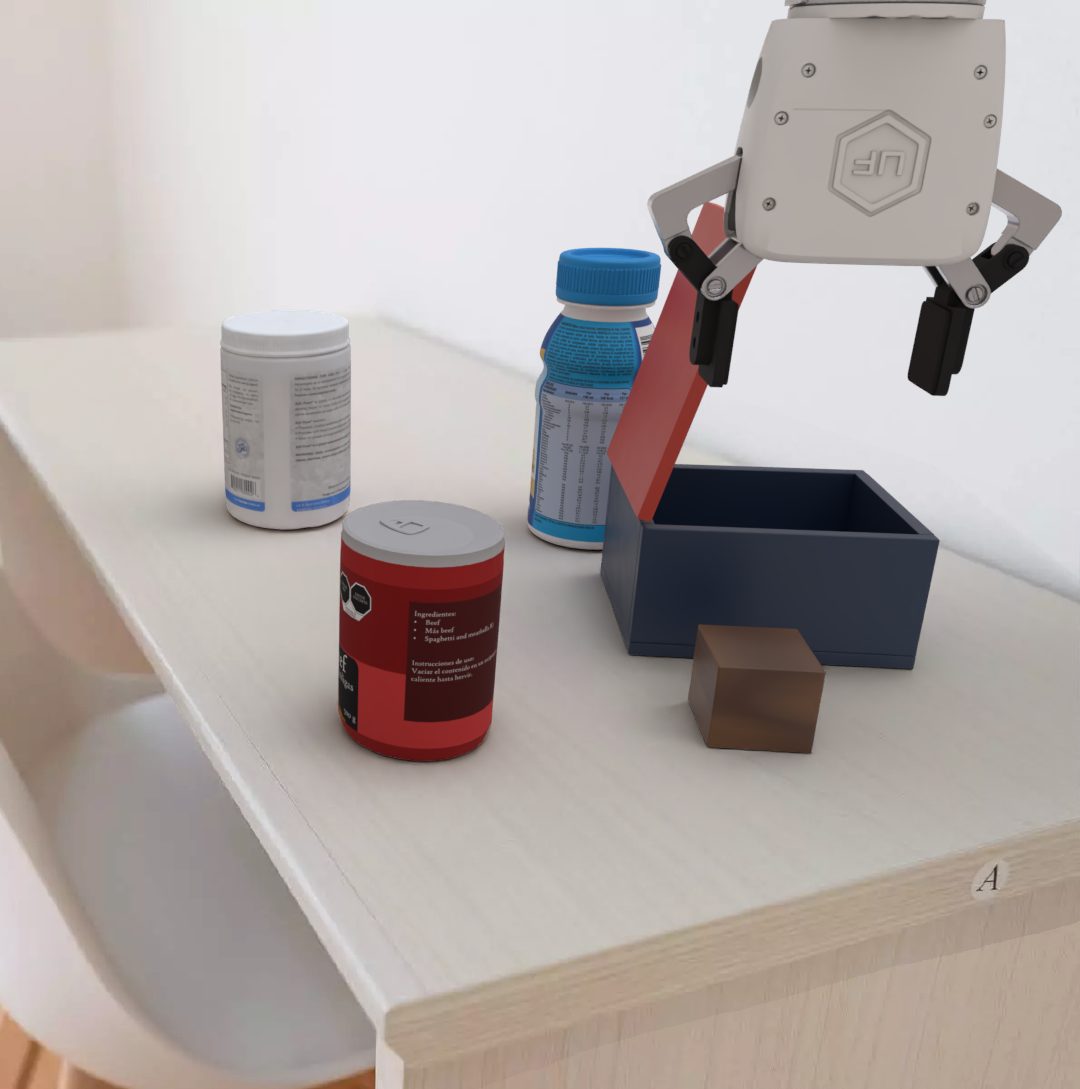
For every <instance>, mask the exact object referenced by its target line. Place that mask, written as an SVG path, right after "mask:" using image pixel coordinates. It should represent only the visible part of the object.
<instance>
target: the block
mask: <svg viewBox="0 0 1080 1089" xmlns="http://www.w3.org/2000/svg"><path fill="white" fill-rule="evenodd" d="M826 674H827V672H826V670H825V669H824V667H823V665H821V664H820V663H819V661H818V660H817V658H816V657H815V655H814V654H813V652H812V651H811V649H810V648H809V646H808V645H807V643H806V642H805V640H804V639H803V637H802V636H801V634H800V633H799V631H798V630H797V629H786V628H765V627H744V626H723V625H702V624H699V625H698V629H697V636H696V643H695V651H694V658H692V666H691V673H690V682H689V688H688V696H687V701H688V704H689V706H690V708H691V711H692V713H693V715H694V718H695V720H696V723H697V725H698V727H699V730H700V733H701V735H702V737H703V739H704V742H705V744H706V747H708V748H713V749H715V748H718V749H734V750H751V751H771V752H785V753H786V752H787V753H803V754H811V753H812V751H813V746H814V741H815V735H816V730H817V724H818V720H819V715H820V714H819V713H820V707H821V702H822V698H823V691H824V685H825V680H826Z"/></svg>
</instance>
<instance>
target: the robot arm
mask: <svg viewBox="0 0 1080 1089" xmlns="http://www.w3.org/2000/svg"><path fill="white" fill-rule="evenodd" d="M986 4H987V0H784V7H789V8H788V9H787V15H786V18H779V19H774V20H771V21H770V25H769V27H768V30H767V33H766V35H765V37H764V41H763V44H762V46H761V50H760V52H759V56H758V59H757V62H756V65H755V69H754V72H753V76H752V79H751V82H750V85H749V86H750V87H749V90H748V94H747V98H746V102H745V105H744V110H743V113H742V118H741V122H740V125H739V131H738V134H737V139H736V142H735V143H736V144H735V148H734V152H733V155H732V156H730V157H727V158H725V159H724V160H722V161H719V162H717V163H715V164H713V165H711V166H709V167H707V168H705V169H702V170H700V171H699V172H696V173H694V174H692V175H690V176H688V177H686V178H683V179H681V180H679V181H677V182H675V183H673V184H671V185H668V186H667V187H664V188H662V189H660V190H659V191H656V192H654V193H652V194H651V195H650V196H649V197H648V199H647V203H646V207H647V210H648V212H649V213H648V214H649V215H650V218H651V220H652V223H653V226H654V228H655V230H656V233H657V236H658V238H659V240H660V242H661V245H662V247H663V252H664V255H665V256H666V257H667V258H668V259H669V260H670V262H671V263H672V264H673V265H674V266H675V267H676V269H677V270H678V269H679V271H680V272H681V273H682V274H683V275H684V276H685V278H686V279H687V280H688V281H689V282H690V283H691V285H692V286H693V288H695V289H696V290H697V299H696V306H695V313H694V321H693V328H692V335H691V343H690V351H689V359H690V362H691V364H692V365H699V367H698V373H699V375H700V377H701V378H702V379H703V380H704V381H705V382H706V383H707V384H708V385H707V386H709V388H723V387H724V386H726V385H728V382H729V378H730V369H731V362H732V357H733V350H734V344H735V343H734V342H735V337H736V330H737V323H738V316H739V311H738V309H739V310H740V308H739V306H738V303H736V302H735V301H734V300H732V293H733V288H734V287H735V286H736V285H737V284H738V283H739V282H740V281H741V280H742V279H743V278H744V277H745V276H746V275H747V274H749V273H750V272H751V271H752V270H753V269H754V268H755V267H756V266H757V267H758V266H759V265H760V263H761V262H762V261H763V260H768V261H773V262H777V263H778V262H779V263H791V264H793V263H794V264H818V265H854V266H887V267H888V266H889V267H891V266H894V267H897V266H898V267H922V269H923V270H924V272H925V274H926V275H927V277H928V278H929V279H930V281H931V282H932V284H933V286H934V294H933V296H926V298H925V300H923V301H922V303H921V306H920V311H919V315H918V321H917V325H916V331H915V335H914V340H913V345H912V350H911V355H910V360H909V365H908V370H907V381H908V382H910V383H911V384H913V385H914V386H916V387H918V389H921V390H923V391H924V392H926V393H927V394H929V395H930V396H934V397H946V396H947V395H948V393H949V389H950V385H951V381H952V376H953V375H958V374H959V373H960V372H961V370H962V369H963V365H964V360H965V356H966V351H967V347H968V341H969V338H970V333H971V328H972V323H973V318H974V314H975V310H976V309H979V308H981V307H984V305H986V304H987V303H988V302H989V300H990V298H991V295H992V294H993V293H994V292H995V291H997V290H998V289H999V288H1001V287H1002V286H1003V285H1004V284H1006V283H1007V282H1008V281H1010V280H1011V279H1012V278H1014V277H1015V276H1016V275H1018V274H1019V273H1020V272H1021V271H1023V270H1024V269H1025V268H1026V267H1027V265H1028V264H1029V262H1030V256H1031V255H1032V254H1033V252H1034V251H1036V250H1038V248H1039V247H1040V246H1041V245H1042V243H1043V242H1044V241H1045V239H1046V238H1047V237H1048V235H1049V234H1050V233H1051V232H1052V230H1053V229H1054V228H1055V226H1056V225H1057V224H1058V222H1059V221H1060V219H1061V217H1062V214H1063V210H1062V207H1061V205H1059V204H1058V203H1056V202H1055V201H1053V200H1052V199H1050V198H1048V197H1047V196H1045V195H1043V194H1041V193H1040V192H1038V191H1036V190H1034V189H1033V188H1031V187H1029V186H1028V185H1026V184H1024V183H1023V182H1021V181H1019V180H1018V179H1016V178H1015V177H1013V176H1011V175H1009V174H1007V173H1006V172H1004V171H1002V170H1000V169H999V168H998V161H999V153H1000V144H1001V138H1002V127H1003V126H1002V125H1003V114H1004V99H1005V86H1006V85H1005V84H1006V65H1007V64H1006V60H1007V59H1006V58H1007V44H1006V43H1007V42H1006V41H1007V40H1006V38H1007V37H1006V35H1007V34H1006V20H1005V19H1002V18H1001V19H1000V18H999V19H997V18H996V19H995V18H984V16H985V9H986V6H985V5H986ZM724 195H725V200H724V206H723V207H724V219H723V227H724V233H725V235H726V237H727V238H726V239H725V240H724V241H723V242H722V243H721V244H720V245H719V246H718V247H717V248H716V249H715V250H713V251H712V252H711V253H710V254H709V255H708V256H707V255H706V254H705V253H704V252H703V251H702V250H701V248H700V247H699V246H698V245H697V244H696V243H695V241H694V240H693V237H692V232H691V229H690V226H689V222H688V218H689V217H688V216H689V214H690V213H691V212H692V211H693V210H694V209H696V208H698V207H700V206H703V204H705V203H707V202H712V201H713V200H716V199H718V198H721V197H722V196H724ZM992 207H993V208H994V209H996V210H998V211H1000V212H1002V213H1003V214H1004V215H1005V216H1006V219H1007V224H1006V226H1005V227H1004V229H1003V230H1002V232H1001V233H1000V234H1001V235H1000V236H999V238H998V239H997V240H996V241H994V242H993V243H991V244H990V245H989V246H987V247H985V249H983V250H982V251H981V252H979V253H978V254H977V252H978V251H979V250H980V249H981V246H982V244H983V241H984V239H985V236H986V231H987V227H988V223H989V219H990V214H991V209H992ZM975 254H977V255H975ZM974 255H975V256H974ZM971 257H973V258H971ZM757 267H756V268H757Z"/></svg>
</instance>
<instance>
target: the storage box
mask: <svg viewBox="0 0 1080 1089" xmlns="http://www.w3.org/2000/svg"><path fill="white" fill-rule="evenodd" d="M940 541H941V540H940V539H939V538H938V537H937V536H936V535H935V533H933V532H932V531H931V530H930V529H929V528H928V527H927V526H926V525H924V524H923V523H922V522H921V520H919V519H918V518H917V517H916V516H915V515H913V513H911V512H910V511H909V510H908V509H907V508H906V507H905V506H904V505H902V504H901V503H900V502H899V501H898V500H897V499H896V498H895V497H894V496H893V495H892V494H891V493H889V492H888V491H887V490H886V489H885V488H884V487H883V486H882V485H881V484H880V483H879V482H878V481H877V480H875V478H873V477H872V476H871V475H870V474H868V473H867V472H866V471H865V470H864V469H841V468H838V469H837V468H812V467H811V468H809V467H780V466H752V465H751V466H750V465H749V466H747V465H723V464H722V465H720V464H693V463H691V464H688V463H675V465H674V467H673V470H672V472H671V475H670V477H669V479H668V482H667V484H666V487H665V489H664V492H663V494H662V496H661V499H660V501H659V504H658V506H657V508H656V511H655V513H654V516H653V518H652V520H651V522H648V521H645V520H641V519H638V518H637V517H636V515H635V512H634V510H633V508H632V506H631V504H630V502H629V500H628V498H627V495H626V493H625V491H624V489H623V487H622V485H621V483H620V481H619V478H618V476H617V474H616V472H615V470H614V468H613V466H612V464H611V473H610V483H609V492H608V502H607V512H606V521H605V531H604V541H603V549H602V553H601V560H600V561H601V562H600V568H599V569H600V570H599V574H600V577H601V578H602V582H603V585H604V587H605V590H606V593H607V596H608V599H609V601H610V602H609V603H610V605H611V607H612V610H613V613H614V617H615V619H616V622H617V625H618V628H619V632H620V633H621V637H622V639H623V642H624V645H625V649H626V651H627V654H628V655H629V656H645V657H647V656H648V657H663V658H665V657H668V658H683V659H685V658H686V659H688V658H689V659H693V658H694V651H695V643H696V636H697V629H698V625H699V624H702V625H723V626H744V627H765V628H786V629H797V630H798V631H799V633H800V634H801V636H802V637H803V639H804V640H805V642H806V643H807V645H808V646H809V648H810V649H811V651H812V652H813V654H814V655H815V657H816V658H817V660H818V661H819V663H820V664H821V666H823V665H824V666H842V667H843V666H844V667H860V668H861V667H864V668H882V669H883V668H884V669H900V670H902V669H903V670H913V669H914V668H915V663H916V662H915V661H916V658H917V657H916V656H917V653H918V652H917V651H918V648H919V642H920V637H921V633H922V628H923V623H924V618H925V613H926V608H927V604H928V599H929V594H930V589H931V584H932V579H933V575H934V570H935V566H936V560H937V556H938V551H939V546H940Z"/></svg>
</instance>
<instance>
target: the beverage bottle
mask: <svg viewBox="0 0 1080 1089" xmlns="http://www.w3.org/2000/svg"><path fill="white" fill-rule="evenodd" d="M661 262H662V260H661V256H660V255H659V254H657V253H656V252H652V251H647V250H641V249H633V248H624V247H623V248H622V247H581V248H579V247H578V248H572V249H567V250H563V251H562V252H560V254H559V258H558V260H557V265H556V266H557V269H556V280H555V285H556V286H555V296H556V301H557V302H558V303H559V304H561V305H564V307H563V308H562V309H561V311H560V312H559V314H558V315H557V316H556V318H555V319H554V320H553V322H552V323H551V325H550V326H549V328H548V329H547V331H546V333H545V335H544V337H543V340H542V341H541V344H540V349H539V358H540V359H541V362H542V364H543V368H542V371H541V373H540V374H539V376H538V378H537V379H536V382H535V387H534V399H535V415H534V416H535V417H534V429H533V445H532V457H531V458H532V460H531V473H530V474H531V475H530V488H529V498H528V499H529V502H528V508H527V517H526V522H527V526H528V529H529V530H530V531H531V532H532V534H534V535H535V536H536V537H538V538H539V539H541V540H543V541H545V542H548V543H551V544H553V545H557V546H560V547H565V548H570V549H578V550H590V551H591V550H593V551H595V550H597V551H599V550H602V551H603V541H604V531H605V521H606V512H607V502H608V492H609V483H610V473H611V461H610V459H609V457H608V455H607V450H608V448H609V445H610V442H611V440H612V437H613V435H614V432H615V430H616V427H617V424H618V422H619V419H620V417H621V414H622V412H623V409H624V407H625V404H626V401H627V399H628V396H629V394H630V391H631V389H632V386H633V383H634V381H635V378H636V376H637V373H638V371H639V368H640V366H641V363H642V360H643V358H644V355H645V353H646V350H647V348H648V345H649V343H650V340H651V337H652V335H653V332H654V330H655V327H656V326H655V325H654V323H653V321H652V319H651V318H650V316H649V315H648V313H647V309H648V308H651V307H653V306H655V305H656V301H657V299H658V296H659V290H660V289H659V288H660V280H661V273H662V272H661V271H662V263H661Z"/></svg>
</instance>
